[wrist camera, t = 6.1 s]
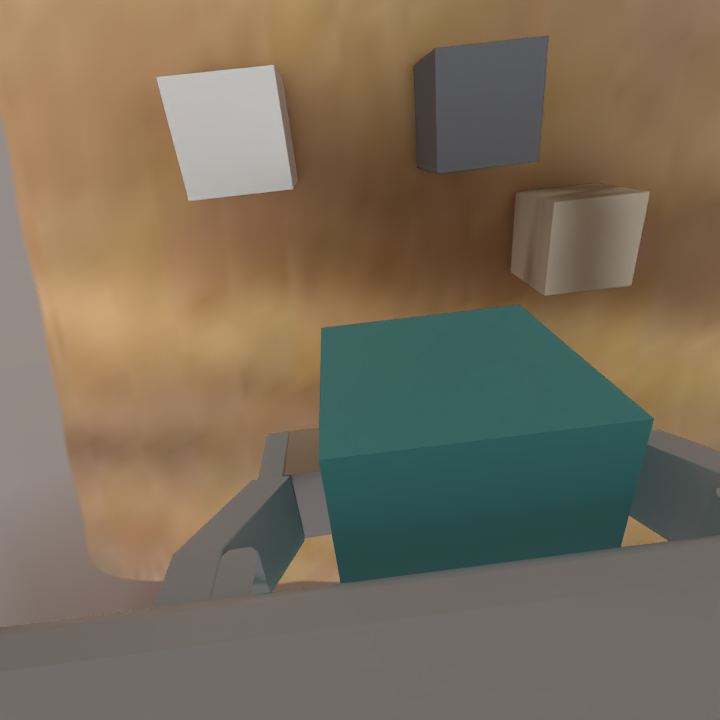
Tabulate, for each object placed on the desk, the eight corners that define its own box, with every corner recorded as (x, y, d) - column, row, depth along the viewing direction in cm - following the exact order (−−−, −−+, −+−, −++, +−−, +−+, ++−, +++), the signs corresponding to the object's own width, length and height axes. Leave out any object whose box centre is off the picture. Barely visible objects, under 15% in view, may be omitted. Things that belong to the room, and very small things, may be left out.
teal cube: (519, 304, 11) (654, 418, 6) (507, 459, 13) (600, 623, 9) (321, 327, 11) (318, 460, 6) (344, 479, 13) (353, 655, 9)
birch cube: (595, 183, 27) (650, 191, 22) (583, 263, 29) (631, 285, 24) (515, 191, 26) (554, 202, 22) (509, 271, 29) (544, 295, 24)
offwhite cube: (282, 79, 23) (273, 64, 18) (298, 180, 25) (293, 189, 21) (188, 89, 23) (156, 77, 18) (212, 190, 25) (189, 200, 21)
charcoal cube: (505, 55, 23) (548, 35, 19) (500, 157, 26) (538, 161, 21) (413, 65, 23) (435, 48, 19) (417, 167, 25) (437, 173, 21)
